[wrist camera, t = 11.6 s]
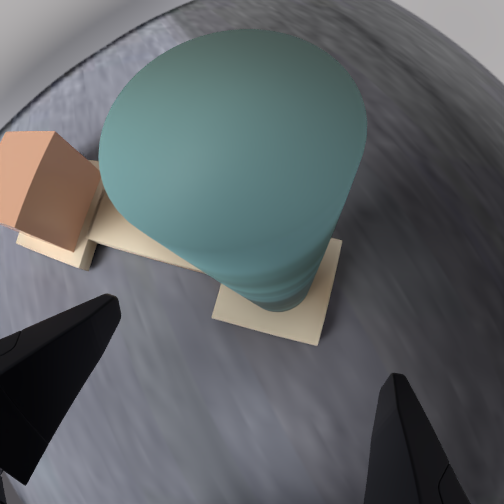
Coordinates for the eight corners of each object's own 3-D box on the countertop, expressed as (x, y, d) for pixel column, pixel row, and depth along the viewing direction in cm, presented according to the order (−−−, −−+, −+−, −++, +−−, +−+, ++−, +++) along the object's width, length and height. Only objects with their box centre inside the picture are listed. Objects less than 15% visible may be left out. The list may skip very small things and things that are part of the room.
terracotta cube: (73, 252, 17) (14, 227, 12) (25, 235, 17) (-29, 211, 13) (102, 173, 17) (55, 131, 13) (51, 166, 18) (5, 131, 14)
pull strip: (315, 344, 15) (416, 419, 2) (24, 250, 18) (-126, 185, 6) (346, 213, 16) (427, -17, 4) (57, 162, 20) (-65, 61, 7)
